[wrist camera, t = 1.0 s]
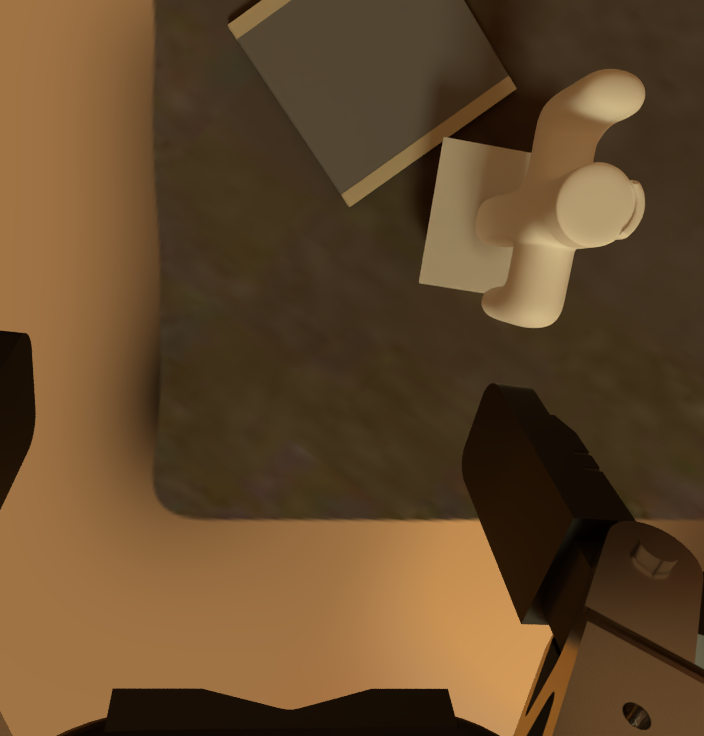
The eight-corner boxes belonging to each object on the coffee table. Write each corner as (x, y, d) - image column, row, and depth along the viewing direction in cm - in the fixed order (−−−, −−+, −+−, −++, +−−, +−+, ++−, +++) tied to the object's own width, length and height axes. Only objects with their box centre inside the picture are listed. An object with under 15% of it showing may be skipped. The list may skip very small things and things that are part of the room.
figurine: (403, 299, 37) (476, 328, 22) (431, 128, 35) (530, 37, 21) (524, 318, 38) (673, 357, 23) (557, 151, 36) (738, 79, 22)
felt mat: (402, -98, 33) (403, -103, 33) (513, 90, 36) (516, 88, 35) (228, 27, 34) (227, 24, 33) (349, 207, 36) (349, 206, 35)
